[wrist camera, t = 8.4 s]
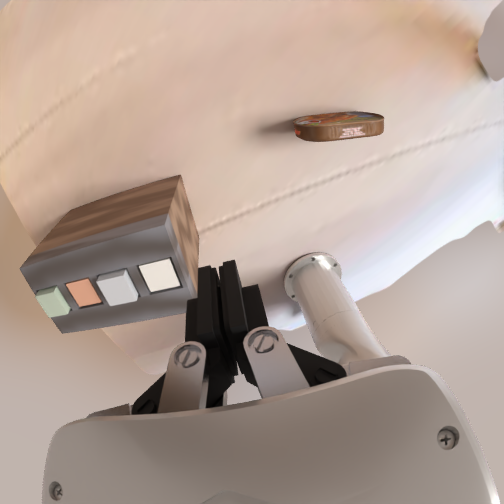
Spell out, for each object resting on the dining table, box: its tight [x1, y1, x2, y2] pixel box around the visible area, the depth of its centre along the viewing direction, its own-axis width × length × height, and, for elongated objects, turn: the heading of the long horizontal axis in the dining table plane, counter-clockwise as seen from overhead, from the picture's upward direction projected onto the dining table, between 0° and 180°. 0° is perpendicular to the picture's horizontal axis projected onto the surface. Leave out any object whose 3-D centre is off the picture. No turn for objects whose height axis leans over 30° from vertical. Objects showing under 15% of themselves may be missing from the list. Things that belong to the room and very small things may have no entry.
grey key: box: [96, 268, 139, 306], centre depth 31 cm, size 4×4×2 cm
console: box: [20, 175, 199, 333], centre depth 39 cm, size 12×22×19 cm, turn 100°
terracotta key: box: [66, 277, 102, 307], centre depth 32 cm, size 4×4×2 cm
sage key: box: [35, 285, 71, 318], centre depth 31 cm, size 4×4×2 cm
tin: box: [293, 112, 384, 142], centre depth 39 cm, size 15×3×8 cm, turn 101°
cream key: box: [139, 257, 181, 292], centre depth 32 cm, size 4×4×2 cm
